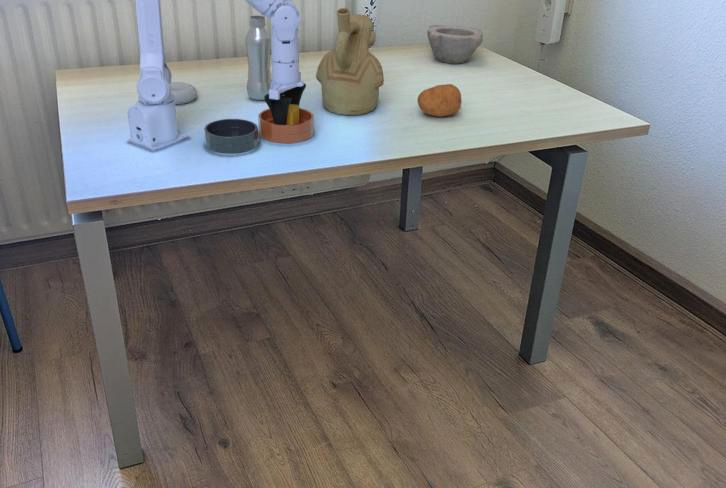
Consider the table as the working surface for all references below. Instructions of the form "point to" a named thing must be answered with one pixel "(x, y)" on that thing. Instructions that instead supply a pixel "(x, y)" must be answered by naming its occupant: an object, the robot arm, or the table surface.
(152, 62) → the robot arm
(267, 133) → the bowl
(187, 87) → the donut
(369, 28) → the ceramic vessel
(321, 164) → the table surface
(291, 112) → the block
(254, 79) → the silver bottle
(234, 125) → the pot
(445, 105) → the potato
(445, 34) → the mortar
